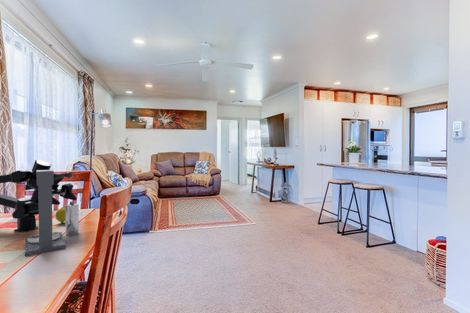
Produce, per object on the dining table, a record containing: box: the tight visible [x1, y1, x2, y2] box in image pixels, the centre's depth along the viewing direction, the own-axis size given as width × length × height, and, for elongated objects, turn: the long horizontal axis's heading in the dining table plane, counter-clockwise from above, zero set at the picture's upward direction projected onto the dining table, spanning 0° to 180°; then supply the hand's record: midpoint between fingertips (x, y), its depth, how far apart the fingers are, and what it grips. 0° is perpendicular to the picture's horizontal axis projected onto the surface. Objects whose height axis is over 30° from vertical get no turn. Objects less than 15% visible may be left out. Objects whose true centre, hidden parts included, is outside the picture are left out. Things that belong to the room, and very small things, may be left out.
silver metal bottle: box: [64, 200, 80, 237], centre depth 114 cm, size 5×5×14 cm
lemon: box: [55, 206, 65, 224], centre depth 130 cm, size 6×6×8 cm
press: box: [24, 169, 73, 257], centre depth 101 cm, size 19×15×30 cm
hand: (68, 201), depth 115 cm, fingers open, 9 cm apart
